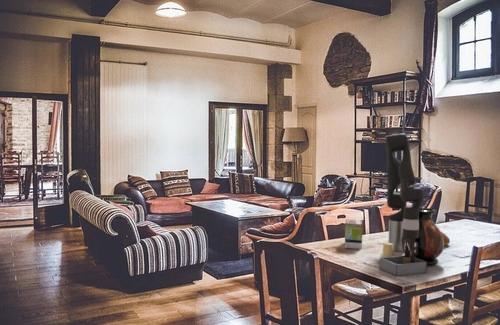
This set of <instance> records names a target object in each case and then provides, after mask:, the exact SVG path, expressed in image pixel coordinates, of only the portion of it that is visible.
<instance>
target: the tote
mask: <svg viewBox="0 0 500 325" xmlns="http://www.w3.org/2000/svg"><path fill="white" fill-rule="evenodd" d="M410 257H411V256H410V255H409V258H410ZM403 258H405V254H403V255H395V256H394V255H393V257H383V256H382V257H379V265H378V266H379V268H378V269H379V270H381V271H383V272H385V273H387V274H390V275H393V276H394V277H397V276H398V277H405V276H406V277H407V276H413V275H414V276H416V275H423V274H424V275H425V274H427V273H428V272H427V270H428V269H427V268H428V266H427V262H426V261H423V260H421V259H418V258H416V259H415V260H416V263H406V264H403Z"/></svg>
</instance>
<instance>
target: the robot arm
mask: <svg viewBox="0 0 500 325" xmlns="http://www.w3.org/2000/svg"><path fill="white" fill-rule="evenodd" d="M410 149H411V148H410V143H409V139H408V136H407V133H403V132H402V133H401V132H399V133H394V134H387V136H386V138H385V150H386V179H387V190H386V191H387V192H386V193H387V194H386V196H387V197H386V205H387V206H388V208H390V209H397V210H398V209H399V211H396V212H394V213H391V214H389V215H388V242H387V243H392V244H393V252H404V251H403V250H402V248H401V235H402V232H403V248H404V250H405V253H404V255H405V258H409V253H410V254H411V257H410V262H411V263H415V259H416V255H418V243H416V242H415V239H417V238H419V209H420V208H421V205H422V202H423V200H424V191H423V189H422V188H421V187H417V186H415V187H414V186H413V185H415V184H416V177H415V173H414V169H413V165H412V157H411V150H410ZM402 151H403V156H402V159H401V161H400V160H399V159H398V158H397V157H396V156H395V154H394V153H396V152H402ZM399 186H400V192H395V191H396V189H397V188H398V187H399ZM410 186H411V187H410ZM412 186H413V187H412ZM408 202H409V203H412V204H410V205H408V206H407V203H408Z"/></svg>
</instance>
